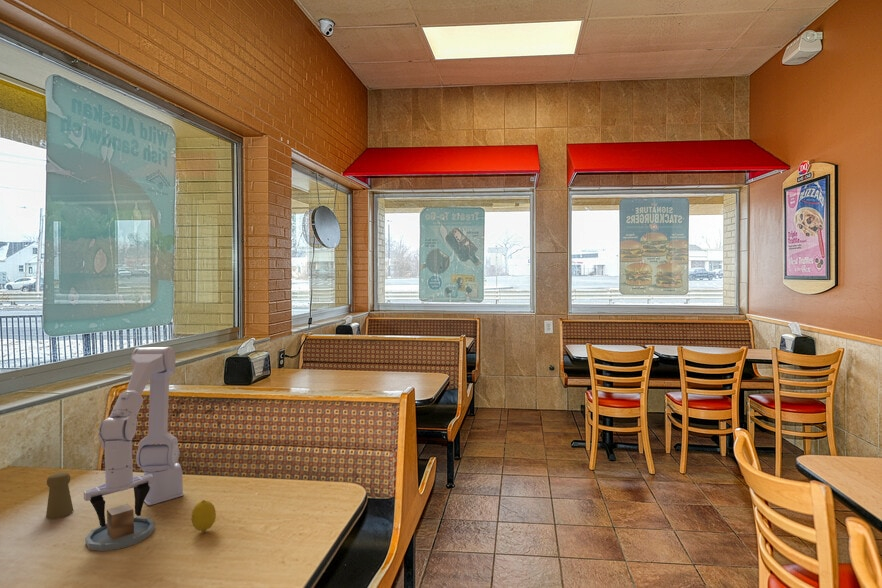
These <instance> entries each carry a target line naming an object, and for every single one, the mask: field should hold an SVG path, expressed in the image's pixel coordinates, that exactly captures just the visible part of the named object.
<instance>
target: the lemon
mask: <svg viewBox="0 0 882 588" xmlns="http://www.w3.org/2000/svg"><path fill="white" fill-rule="evenodd" d="M216 515H217V512H216V508H215V505H214V504H213V503H212V502H211V501H210V500H209V501H208V500H205V499H202V500H201V501H199V502H198V503H197V504H196V505H195V506H194V507H193V509H192V511H191V518H190V519H191V523H192V526H193V528H194V529H195V530H198V531H201V532H202V533H204V532H205V533H206V531H207V530H208V529H210V528H211V527H212V526H213V525H214V523H215V522H216Z"/></svg>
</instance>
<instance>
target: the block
mask: <svg viewBox="0 0 882 588" xmlns="http://www.w3.org/2000/svg"><path fill="white" fill-rule="evenodd" d="M134 515H135V511H134V508H133V507H132V506H131V505H130V504H129V503H125V504H122V505H118V506H114V507H111V508H108V509H106V523H107V533H108V535H109V536H110V537H111V538H112V540H114V539H117V538H120V537H123V536H126V535H129V534H132V533H134V517H135V516H134Z"/></svg>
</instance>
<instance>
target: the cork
mask: <svg viewBox="0 0 882 588" xmlns="http://www.w3.org/2000/svg"><path fill="white" fill-rule="evenodd" d="M46 479H47V480H46V486H47V487H48V489H49V490H48V496H47V505H46V515H45V518H46V519H48V520H49V519H52V520H55V519H59V518H60V517H61V518H64V517H66V515H67V516H69V515H70V513H71V512H72V511H73V512H74V507H73V501H72V496H71V492H70V486H69V484H70V482H71V474H70V473H69V472H66V471H59V472H56V473H52V474H50V475H49V476H48V477H47V478H46ZM73 512H72V513H73ZM72 513H71V514H72ZM68 514H69V515H68ZM63 516H64V517H63Z"/></svg>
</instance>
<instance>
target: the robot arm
mask: <svg viewBox="0 0 882 588" xmlns="http://www.w3.org/2000/svg"><path fill="white" fill-rule="evenodd" d="M176 357H177V355H176V352H175V350H174V348H173V347H172V346H159V347H157V346H156V347H141V346H138V347H135V348H134V349H133V351H132V353H131V355H130V362H131V367H132V373H131V375H130V379H129V382H128V385H127V387H126V391H122V392H121V393H120V394H119V395H118V397H117V399H116V402H115V404H114V406H113V408H112V410H111V412H110V414H109V416H108V417H107V418H105V419H104V420H102V422H101V423H100V425H99V429H98V438H99V441H100V442H101V449H102V450H104V471H105V473H104V474H105V483H104V484H101V485H99V486H96V487H93V488H89V489H86V490H84V491H83V500H84V502H88V501H89V502H90V503H91V506H92V507H93V509H94V510H95V513H96V515H97V519H98V522H99V526H101V527H104V526H105V523H106V518H105V516H106V515H105V512H106V511H105V510H106V500H105V499H104V497H103V496H107V495H111V494H114V493H118V492H123V491H127V490H129V489H133V492H134V515H136V517H141V514H142V511H143V510H142V509H143V505H144V503H145V504H146V505H148V506H152V505H156V504H160V503H163V502H166V501H169V500H173V499H176V498H180V497H182V496H184V495H185V494H184V490H183V489H184V486H183V484H184V483H183V470H182V466H181V464H180V463H179V462H178V460H179V457H180V449H179V442H178V441H179V440H178V438H177V437H176V436H174V435H173V434H171V433H170V432H168V431H169V430H168V428H169V427H168V426H169V425H168V424H169V396H170V395H169V394H170V376H172V375H174V374H175V373H176V372H175V370H176ZM148 382H149V401H148V402H149V405H148V426H147V427H148V428H147V429H148V430H147V431H148V433H147V434H148V435H146V436H144V437H143V438H142V439H140V441H139V442H138V446H137V447H138V449H137V452H136V454H135V461H136V465H137V466H138V467H139V468H141V471H142V472H143V475H139V476H138V475H136V476H134V473H133V471H134V470H133V469H134V468H133V438H134V437H135V436H136V434H137V433H136V432H137V425H138V418H137V417H138V415H139V412H140V410H141V407H142V406H143V402H144V397H143V396H142V395H143V393H144V392H143V391H144V390H145V388H146V386H147V384H148Z"/></svg>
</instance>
